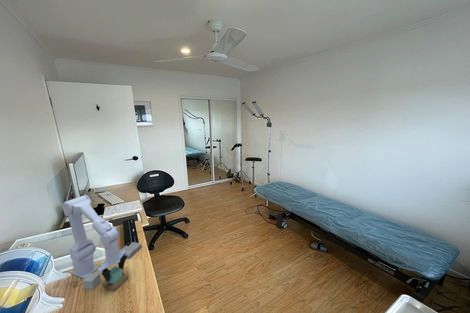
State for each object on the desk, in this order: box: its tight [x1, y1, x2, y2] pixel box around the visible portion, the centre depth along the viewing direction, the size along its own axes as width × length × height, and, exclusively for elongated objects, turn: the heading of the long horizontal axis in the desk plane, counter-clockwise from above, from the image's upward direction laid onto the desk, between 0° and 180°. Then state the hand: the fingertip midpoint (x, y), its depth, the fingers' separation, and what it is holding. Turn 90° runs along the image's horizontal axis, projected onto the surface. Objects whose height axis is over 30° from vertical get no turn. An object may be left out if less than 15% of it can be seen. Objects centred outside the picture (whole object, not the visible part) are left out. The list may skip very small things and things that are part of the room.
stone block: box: [119, 241, 142, 260], centre depth 121 cm, size 12×5×10 cm
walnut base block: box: [101, 272, 129, 292], centre depth 98 cm, size 8×8×3 cm
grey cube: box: [82, 272, 102, 290], centre depth 96 cm, size 5×5×5 cm
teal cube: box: [107, 266, 123, 284], centre depth 97 cm, size 5×5×5 cm
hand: (114, 274), depth 97 cm, fingers open, 7 cm apart
